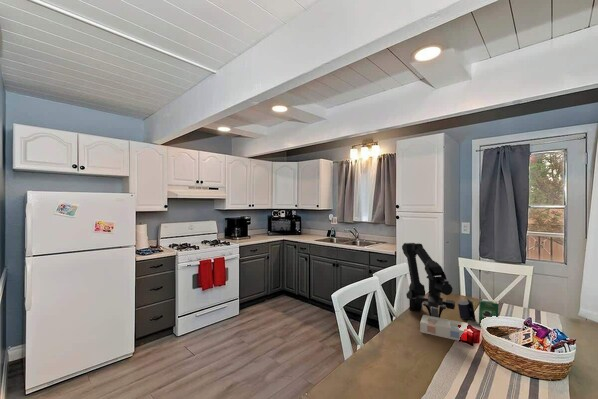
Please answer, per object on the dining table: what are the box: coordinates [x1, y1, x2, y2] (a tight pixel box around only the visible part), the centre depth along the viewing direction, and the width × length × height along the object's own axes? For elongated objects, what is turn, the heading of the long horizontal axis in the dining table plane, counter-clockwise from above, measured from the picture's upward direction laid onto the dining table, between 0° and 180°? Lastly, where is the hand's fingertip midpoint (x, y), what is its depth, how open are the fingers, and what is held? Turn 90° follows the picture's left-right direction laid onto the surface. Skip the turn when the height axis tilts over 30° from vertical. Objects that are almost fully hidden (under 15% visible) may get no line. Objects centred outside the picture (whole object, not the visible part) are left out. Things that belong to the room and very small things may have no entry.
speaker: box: [457, 298, 477, 322], centre depth 154 cm, size 8×6×10 cm
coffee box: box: [478, 299, 499, 325], centre depth 143 cm, size 8×3×13 cm, turn 70°
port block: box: [419, 314, 469, 342], centre depth 137 cm, size 20×10×5 cm, turn 58°
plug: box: [431, 307, 439, 317], centre depth 149 cm, size 3×3×8 cm
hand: (434, 317), depth 149 cm, fingers open, 4 cm apart
